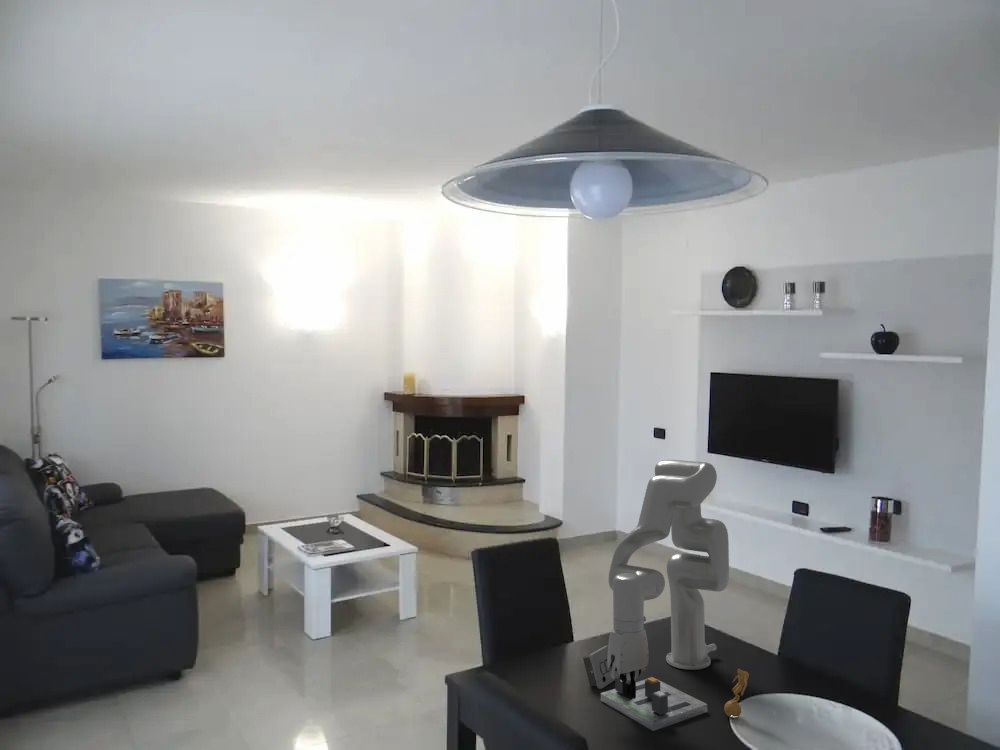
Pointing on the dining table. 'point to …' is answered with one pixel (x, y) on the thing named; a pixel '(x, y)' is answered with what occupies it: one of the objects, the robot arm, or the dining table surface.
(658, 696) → the block
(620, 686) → the breaker
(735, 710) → the figurine
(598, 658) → the electrical switch
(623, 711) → the panel
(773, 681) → the dining table surface
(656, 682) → the breaker mid
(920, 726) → the dining table surface
